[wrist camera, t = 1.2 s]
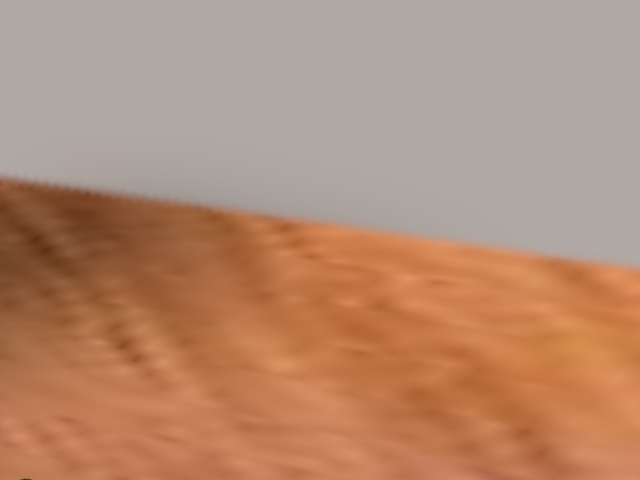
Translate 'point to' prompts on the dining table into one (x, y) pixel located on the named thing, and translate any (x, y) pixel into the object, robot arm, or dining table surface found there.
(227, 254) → the dining table surface
